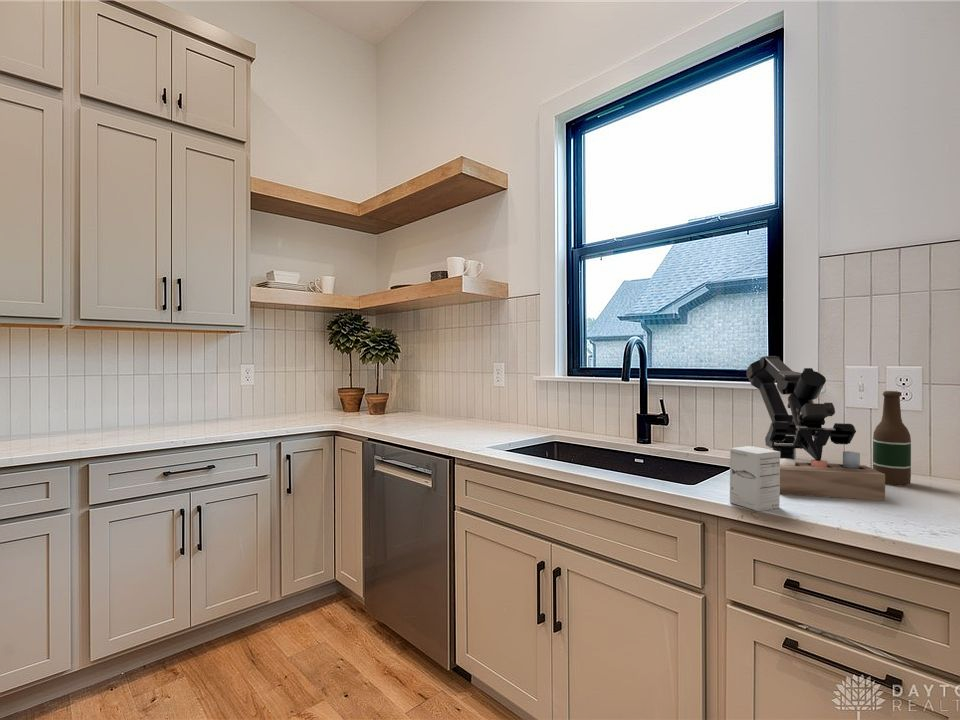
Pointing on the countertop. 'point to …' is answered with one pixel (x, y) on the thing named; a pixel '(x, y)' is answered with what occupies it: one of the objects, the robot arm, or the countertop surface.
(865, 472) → the wooden socket block
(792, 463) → the white key
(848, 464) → the grey rounded block
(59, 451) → the countertop surface
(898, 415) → the beer bottle
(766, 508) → the supplement box
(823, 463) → the brick key
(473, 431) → the countertop surface
